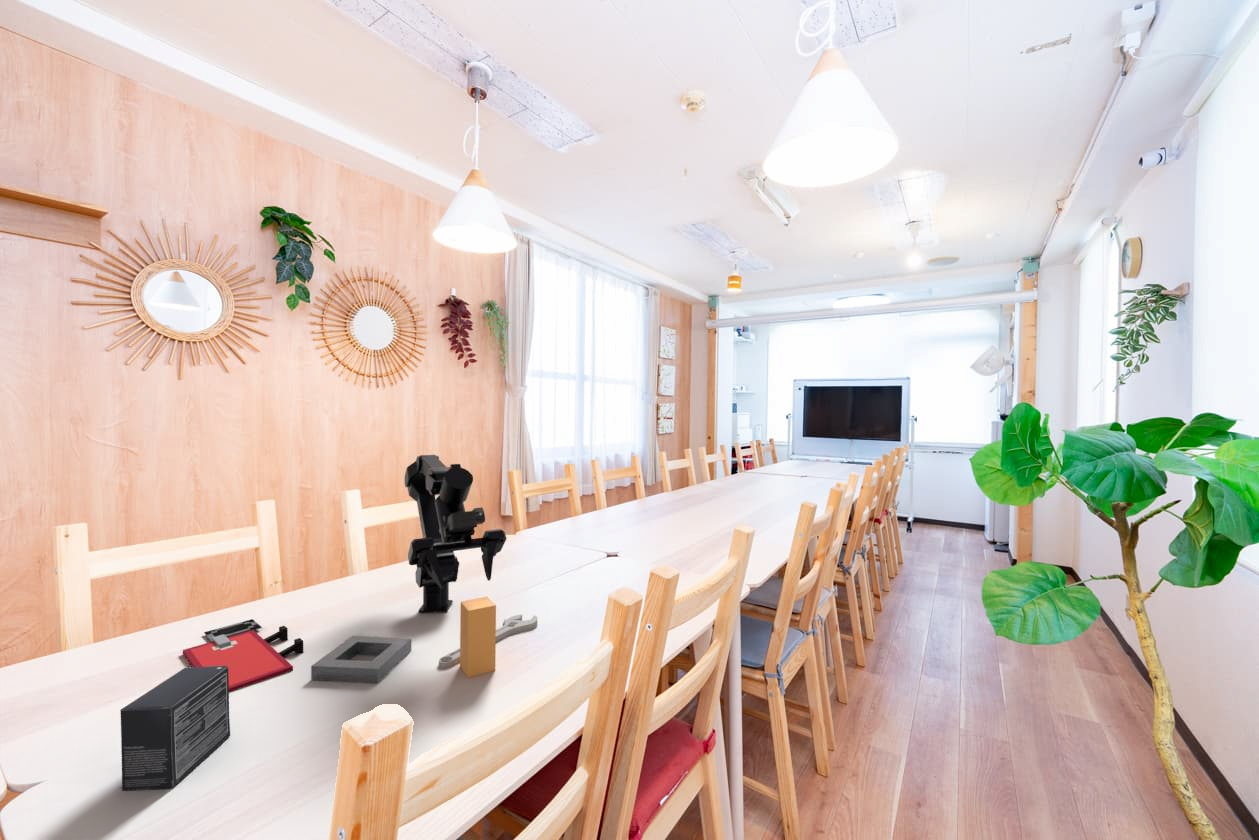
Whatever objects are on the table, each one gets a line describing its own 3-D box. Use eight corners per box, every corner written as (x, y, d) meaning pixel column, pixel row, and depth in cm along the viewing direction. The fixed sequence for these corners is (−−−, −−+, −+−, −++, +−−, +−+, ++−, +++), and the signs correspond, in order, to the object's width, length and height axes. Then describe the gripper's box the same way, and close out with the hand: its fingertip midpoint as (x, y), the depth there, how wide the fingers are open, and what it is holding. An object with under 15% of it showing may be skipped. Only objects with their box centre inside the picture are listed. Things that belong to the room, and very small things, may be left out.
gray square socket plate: (352, 648, 101) (352, 635, 101) (411, 650, 101) (411, 638, 100) (311, 680, 89) (311, 665, 89) (377, 683, 89) (377, 668, 89)
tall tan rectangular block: (460, 665, 95) (460, 601, 95) (486, 658, 98) (487, 596, 98) (467, 677, 91) (468, 610, 91) (495, 670, 94) (495, 605, 93)
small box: (184, 737, 73) (184, 665, 73) (232, 735, 74) (232, 664, 74) (116, 792, 63) (116, 708, 63) (173, 789, 64) (173, 706, 63)
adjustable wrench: (445, 672, 94) (445, 663, 94) (424, 662, 97) (424, 653, 97) (542, 625, 114) (542, 617, 114) (521, 618, 118) (521, 611, 118)
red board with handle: (262, 620, 114) (174, 645, 103) (262, 608, 114) (173, 631, 102) (315, 665, 95) (214, 701, 84) (315, 650, 95) (214, 685, 84)
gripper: (411, 498, 100) (423, 570, 91) (504, 491, 110) (522, 555, 101) (403, 530, 106) (413, 600, 97) (491, 520, 117) (508, 583, 108)
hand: (466, 583), depth 101 cm, fingers open, 9 cm apart
